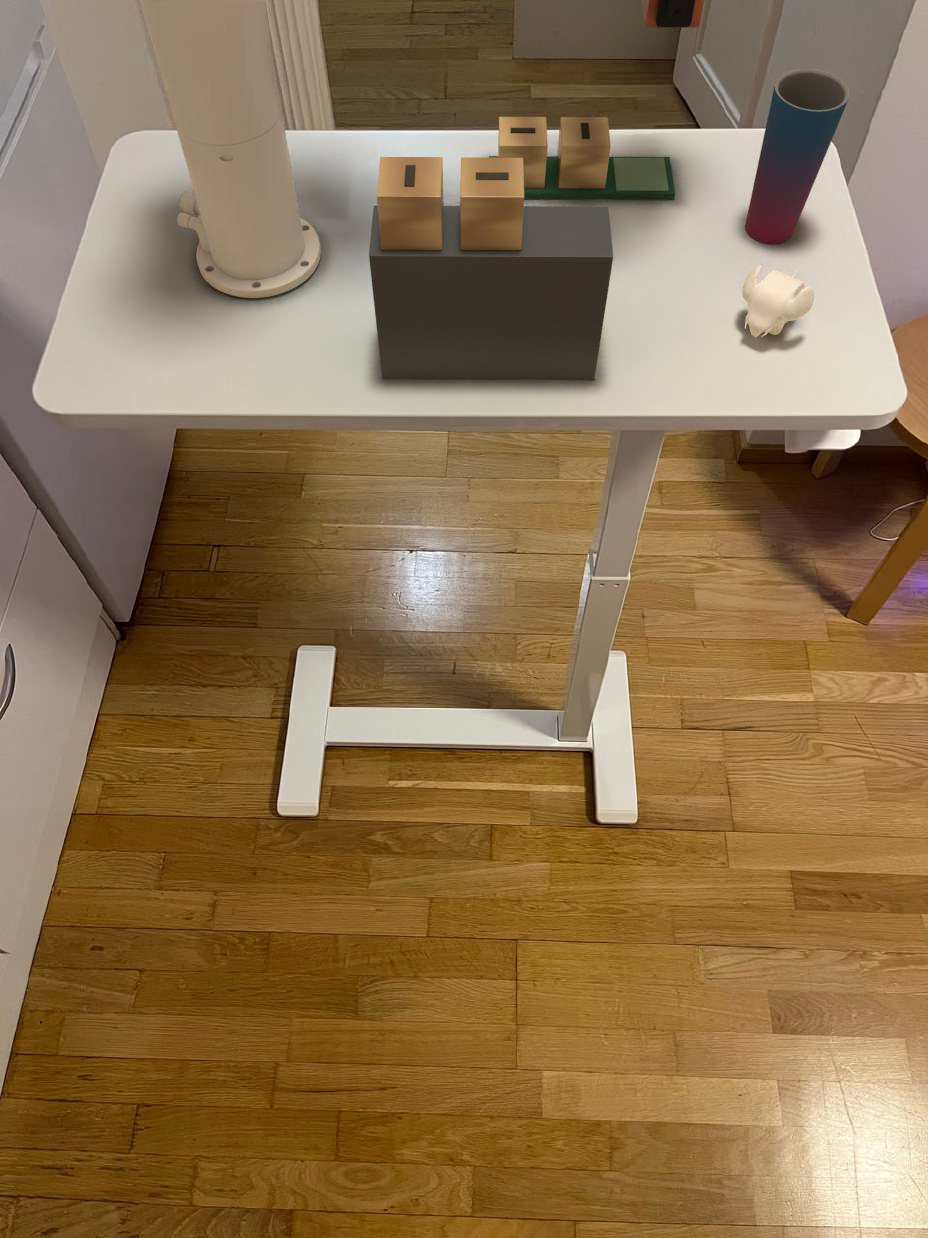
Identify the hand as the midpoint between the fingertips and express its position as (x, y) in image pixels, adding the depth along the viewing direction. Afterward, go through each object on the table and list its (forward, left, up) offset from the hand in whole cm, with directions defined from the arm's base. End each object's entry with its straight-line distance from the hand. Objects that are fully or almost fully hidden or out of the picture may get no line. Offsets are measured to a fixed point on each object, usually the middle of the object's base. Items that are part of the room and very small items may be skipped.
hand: (670, 6), depth 91 cm
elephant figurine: (+19, -16, -18) cm, 31 cm away
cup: (+15, -2, -18) cm, 24 cm away
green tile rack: (-6, -3, -18) cm, 19 cm away
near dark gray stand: (-4, -31, -18) cm, 36 cm away
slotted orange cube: (0, 0, -1) cm, 1 cm away
